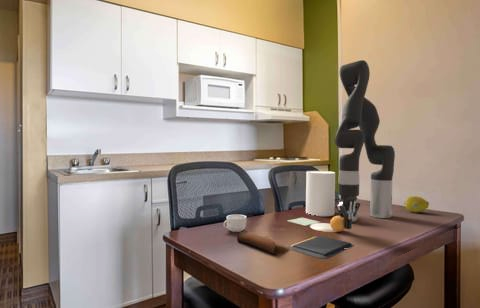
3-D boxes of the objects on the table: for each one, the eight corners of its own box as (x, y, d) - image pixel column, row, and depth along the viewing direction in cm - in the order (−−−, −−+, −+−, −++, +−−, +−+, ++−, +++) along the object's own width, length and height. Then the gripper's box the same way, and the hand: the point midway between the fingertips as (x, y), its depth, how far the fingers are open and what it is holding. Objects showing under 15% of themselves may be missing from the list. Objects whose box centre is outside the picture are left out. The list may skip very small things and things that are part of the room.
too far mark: (302, 217, 148) (302, 217, 148) (320, 222, 140) (320, 221, 140) (287, 221, 142) (287, 220, 142) (304, 225, 134) (304, 225, 134)
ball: (348, 231, 127) (335, 224, 131) (350, 217, 125) (337, 211, 129) (339, 236, 123) (326, 229, 127) (341, 222, 121) (328, 215, 125)
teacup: (237, 226, 131) (238, 213, 131) (250, 231, 125) (250, 217, 125) (217, 231, 125) (217, 217, 125) (229, 235, 119) (230, 220, 119)
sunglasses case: (293, 250, 103) (286, 234, 101) (279, 265, 100) (272, 249, 97) (254, 237, 117) (247, 222, 115) (241, 250, 113) (234, 235, 111)
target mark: (323, 222, 140) (323, 221, 140) (350, 228, 130) (350, 228, 130) (303, 226, 132) (303, 226, 132) (330, 234, 122) (330, 233, 122)
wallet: (324, 256, 95) (283, 244, 106) (323, 262, 95) (283, 249, 106) (357, 242, 109) (317, 232, 120) (357, 248, 109) (317, 237, 120)
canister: (312, 209, 168) (313, 170, 167) (338, 212, 160) (339, 172, 159) (301, 213, 157) (301, 172, 156) (328, 217, 149) (329, 174, 148)
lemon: (401, 211, 164) (402, 195, 164) (407, 209, 169) (407, 194, 169) (425, 215, 156) (425, 198, 156) (430, 213, 161) (431, 197, 161)
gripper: (350, 181, 130) (349, 224, 130) (329, 182, 122) (328, 229, 122) (367, 182, 124) (366, 228, 124) (347, 184, 116) (346, 233, 116)
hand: (347, 228), depth 123 cm, fingers closed
